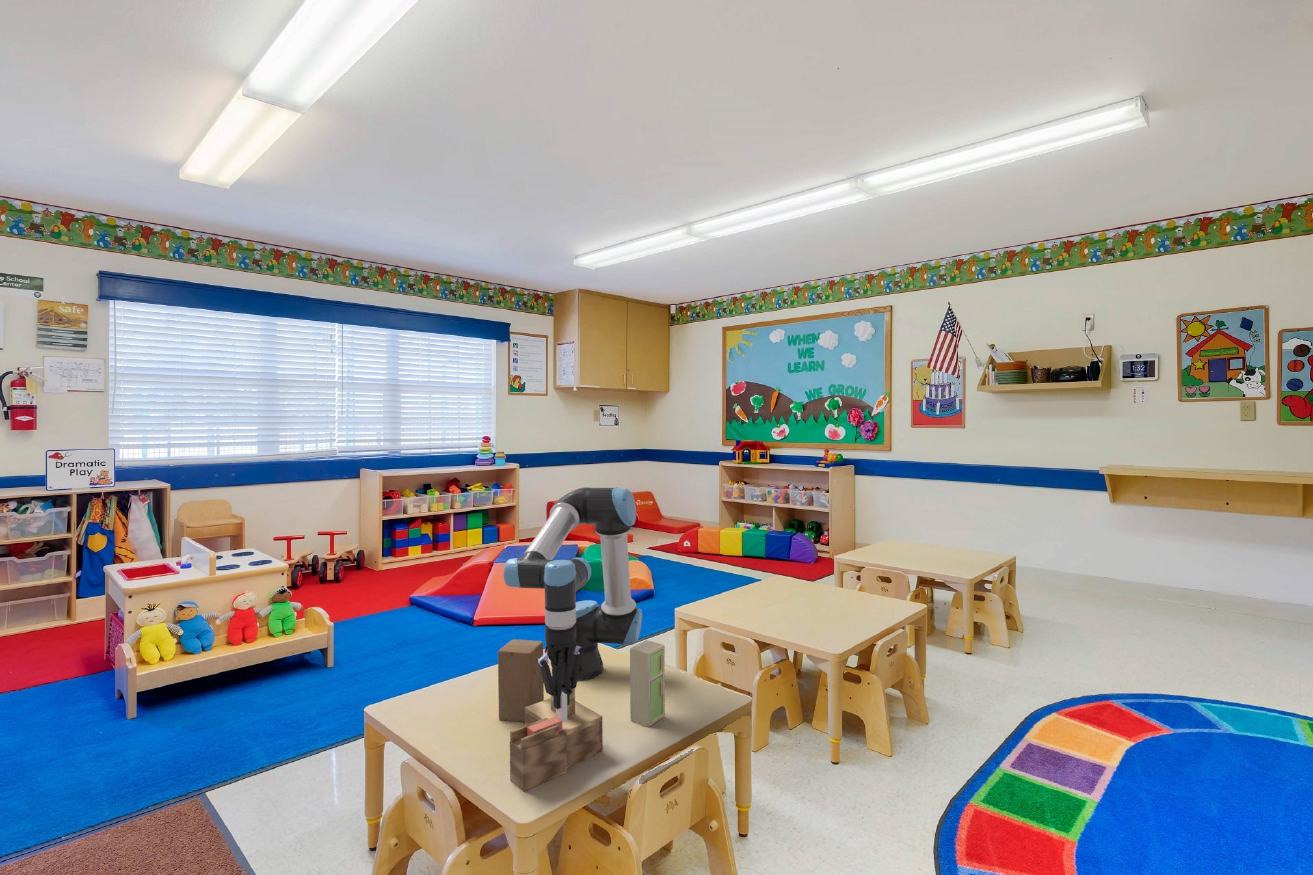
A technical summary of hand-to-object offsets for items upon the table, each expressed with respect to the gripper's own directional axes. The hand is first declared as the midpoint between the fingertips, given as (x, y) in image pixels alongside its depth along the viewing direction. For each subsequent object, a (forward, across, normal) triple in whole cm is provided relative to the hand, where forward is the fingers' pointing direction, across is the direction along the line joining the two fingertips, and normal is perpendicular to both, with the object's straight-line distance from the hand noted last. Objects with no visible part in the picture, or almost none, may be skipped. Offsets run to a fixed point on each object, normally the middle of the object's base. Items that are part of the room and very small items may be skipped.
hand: (561, 719), depth 155 cm
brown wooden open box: (+12, +1, -7) cm, 13 cm away
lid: (+4, -5, -7) cm, 10 cm away
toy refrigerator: (+12, -32, -3) cm, 34 cm away
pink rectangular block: (+2, +5, 0) cm, 5 cm away
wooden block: (+12, -7, -31) cm, 34 cm away
